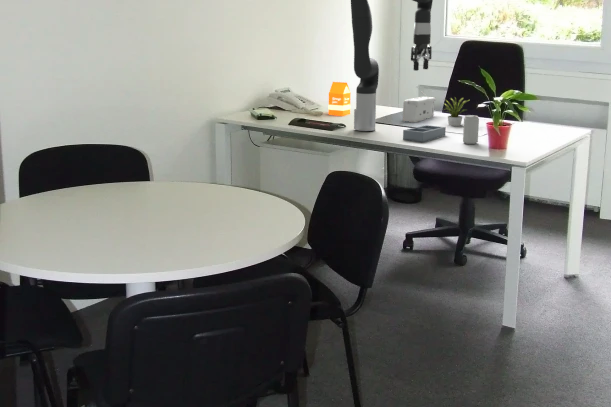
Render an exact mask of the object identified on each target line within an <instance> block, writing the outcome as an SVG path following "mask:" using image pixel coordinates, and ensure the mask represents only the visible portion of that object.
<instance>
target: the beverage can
mask: <svg viewBox="0 0 611 407" xmlns="http://www.w3.org/2000/svg"><path fill="white" fill-rule="evenodd" d="M479 127H480V119H479V116H478V115H473V114H472V115H471V114H467V115H465V116H464V118H463V131H462V132H463V134H462V142H463V143H464V144H466V145H476V144H477V143H478V142H479V130H480V129H479Z"/></svg>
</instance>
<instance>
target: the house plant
mask: <svg viewBox="0 0 611 407" xmlns="http://www.w3.org/2000/svg"><path fill="white" fill-rule="evenodd" d="M449 99H450V100H451V102H452V104H451V103H450V101H448V100H447V99H445V98H444V99H443V100H445V101H446V103H445V102H443V103H444V105H445V108H444V109H443V111H444V110H447V111H446V112H448V113H449V114H450V115H448V116H447V122H448V126H450V125H451V126H450V127H460V125H461V126H462V121H463V116H462V115H460V114H461V113H466V111H467V109H462V108H463V107H464V104H466V103H467V102H469V99H468V100H464V97H461V98H460V99H459V100H458V102H457V98H456V97H455V96H454V99H453V98H452V97H450V98H449Z"/></svg>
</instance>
